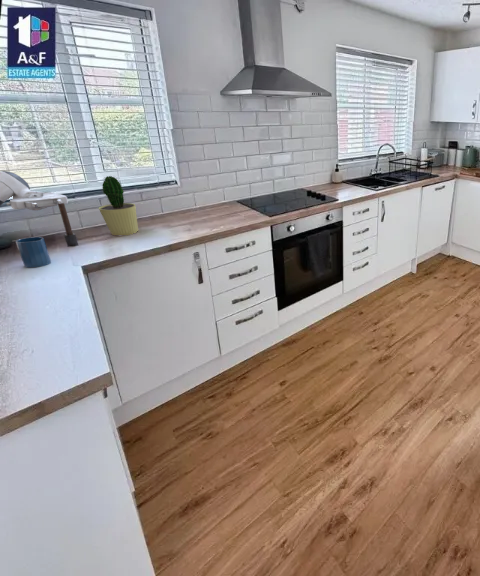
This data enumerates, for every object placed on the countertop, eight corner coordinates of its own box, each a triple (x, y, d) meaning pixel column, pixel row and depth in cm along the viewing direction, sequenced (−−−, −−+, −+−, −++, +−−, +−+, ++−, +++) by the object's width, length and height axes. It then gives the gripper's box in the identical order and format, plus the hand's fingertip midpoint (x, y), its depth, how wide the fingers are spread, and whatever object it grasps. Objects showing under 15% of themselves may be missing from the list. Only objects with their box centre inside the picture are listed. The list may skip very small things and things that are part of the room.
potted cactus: (105, 234, 191) (86, 174, 178) (139, 228, 200) (123, 171, 187) (110, 241, 181) (89, 178, 168) (145, 235, 190) (129, 175, 177)
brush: (67, 248, 166) (54, 204, 159) (68, 246, 169) (55, 202, 162) (78, 247, 168) (66, 203, 161) (79, 245, 171) (67, 202, 164)
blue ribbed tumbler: (22, 268, 141) (13, 243, 138) (26, 262, 148) (18, 238, 144) (49, 265, 145) (41, 241, 142) (52, 260, 152) (45, 236, 148)
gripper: (1, 196, 163) (16, 199, 157) (56, 191, 180) (71, 194, 174) (6, 210, 165) (21, 214, 160) (60, 204, 182) (75, 207, 177)
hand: (48, 203), depth 167 cm, fingers open, 8 cm apart
